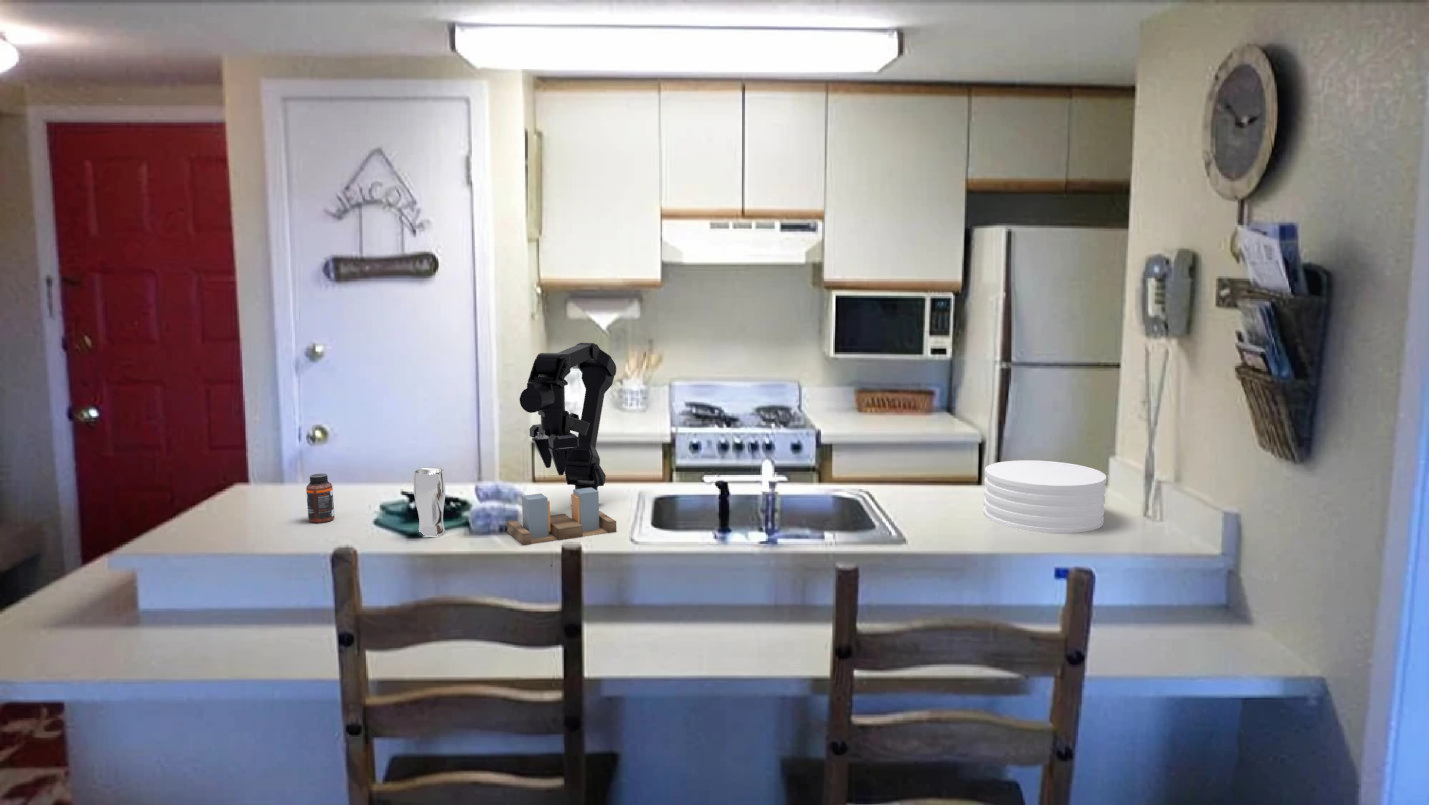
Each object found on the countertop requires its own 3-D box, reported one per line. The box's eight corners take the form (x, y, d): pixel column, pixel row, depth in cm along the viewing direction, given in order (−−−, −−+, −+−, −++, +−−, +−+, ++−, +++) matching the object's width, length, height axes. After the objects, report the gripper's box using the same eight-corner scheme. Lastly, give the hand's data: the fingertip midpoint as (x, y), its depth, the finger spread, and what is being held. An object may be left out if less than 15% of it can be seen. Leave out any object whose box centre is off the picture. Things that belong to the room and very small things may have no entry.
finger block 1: (523, 534, 222) (521, 495, 221) (544, 531, 224) (543, 493, 223) (529, 539, 218) (527, 500, 217) (551, 536, 220) (550, 497, 219)
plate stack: (1110, 511, 245) (1112, 466, 243) (1095, 540, 221) (1098, 490, 219) (996, 498, 258) (998, 456, 256) (971, 524, 234) (973, 477, 232)
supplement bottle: (340, 518, 239) (337, 473, 237) (321, 524, 234) (318, 478, 232) (322, 516, 242) (319, 471, 240) (302, 522, 236) (299, 476, 235)
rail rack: (507, 536, 224) (507, 521, 224) (597, 523, 234) (597, 509, 234) (523, 549, 214) (522, 534, 213) (616, 535, 224) (616, 521, 223)
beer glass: (419, 539, 221) (416, 475, 219) (413, 532, 227) (410, 469, 225) (450, 535, 224) (447, 472, 222) (443, 528, 230) (440, 466, 228)
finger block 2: (571, 527, 227) (570, 489, 226) (592, 524, 230) (591, 487, 228) (578, 532, 223) (577, 494, 222) (599, 529, 226) (598, 491, 224)
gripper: (599, 409, 225) (600, 475, 227) (571, 399, 241) (573, 460, 244) (553, 413, 220) (555, 480, 222) (527, 402, 236) (529, 465, 238)
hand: (554, 471), depth 232 cm, fingers open, 9 cm apart
